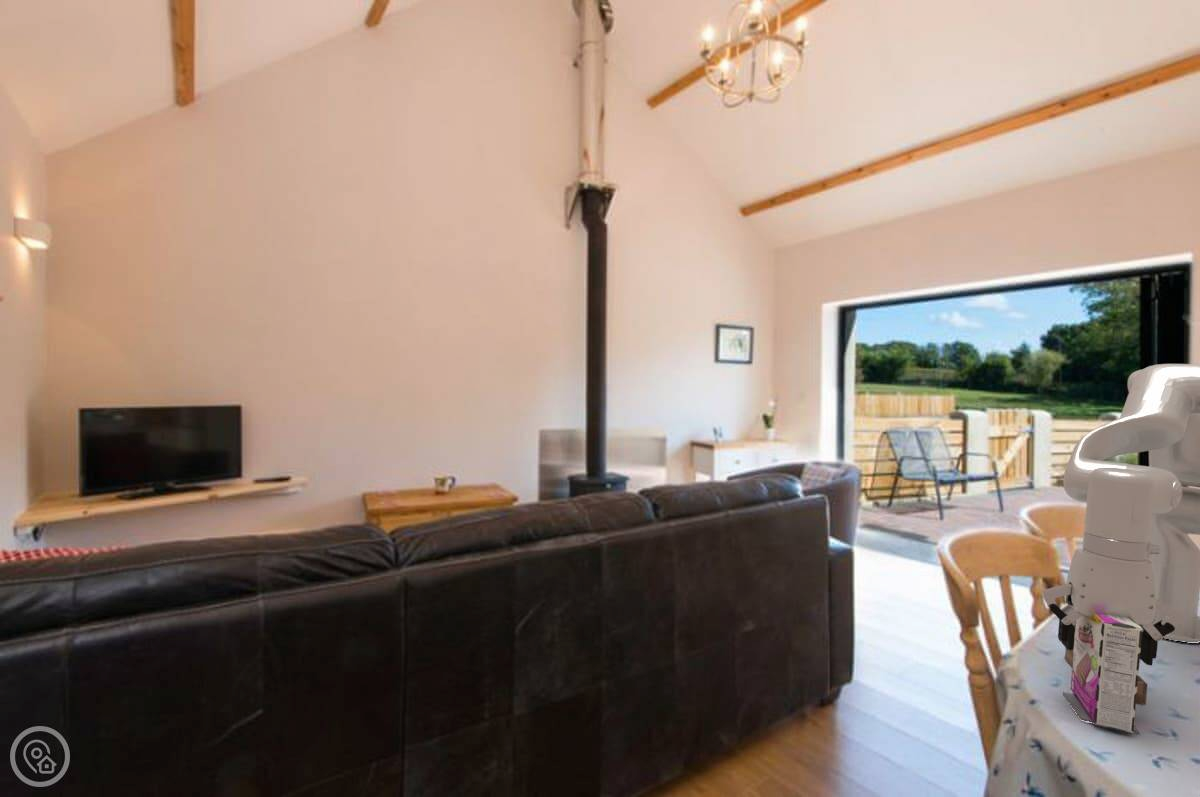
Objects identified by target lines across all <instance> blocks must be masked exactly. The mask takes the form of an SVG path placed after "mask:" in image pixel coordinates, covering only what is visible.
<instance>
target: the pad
mask: <svg viewBox="0 0 1200 797" xmlns="http://www.w3.org/2000/svg"><path fill="white" fill-rule="evenodd" d="M1062 695H1063V697H1064V699H1065V698H1066V699H1065V700H1066V702H1067V701H1068V702H1069V703H1070V704H1069V703H1068V702H1067V703H1068V704H1069V706H1070V705H1071V706H1072V707H1071V706H1070V707H1071V708H1073V709H1074V710H1075V712H1076V713H1077V715H1078V716H1079V718H1080V719H1081V720H1084V721H1089V722H1092V723H1094V722H1093V721H1092V719H1091V718H1090V716H1089V715H1088V713H1087V712H1086V710H1085V709H1084V707H1083V706H1082V705H1081V703H1080V702H1079V700H1078V699H1077V697H1076V696H1075V694H1074V693H1069V692H1064V691H1063V692H1062ZM1073 709H1072V710H1073ZM1074 710H1073V711H1074ZM1075 712H1074V713H1075ZM1076 713H1075V714H1076ZM1077 715H1076V716H1077ZM1078 716H1077V717H1078ZM1079 718H1078V719H1079ZM1080 719H1079V720H1080ZM1133 734H1135V735H1139V736H1140V734H1141V731H1140V730H1139V729H1138V728H1137V727H1136V725H1135V724H1134V733H1133Z"/></svg>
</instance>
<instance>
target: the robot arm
mask: <svg viewBox="0 0 1200 797" xmlns="http://www.w3.org/2000/svg"><path fill="white" fill-rule="evenodd" d="M1127 391H1128V394H1127V397H1126V401H1125V404H1124V406H1123V407H1122V408H1123V409H1122V411H1121V412H1120V413H1121V414H1120V417H1119V418H1115V419H1114V420H1111V421H1108V422H1107V423H1104V424H1102V425H1100V426H1098V427H1096V428H1094V429H1093V430H1091V431H1089V432H1087V433H1086V434H1084V436H1082V437H1081V438H1080V439H1079V440H1078V441H1077V442H1076V443H1075V445H1074V448H1073V449H1072V452H1071V454H1070V457H1069V459H1068V462H1067V465H1066V467H1065V468H1064V473H1063V488H1064V491H1065V492H1066V494H1067V495H1068V497H1070V498H1071V499H1072V500H1075V501H1077V502H1081V503H1085V504H1086V508H1085V518H1084V529H1083V530H1084V531H1083V541H1082V548H1080V547H1079V548H1078V547H1077V548H1075V550H1074V552H1073V555H1072V557H1071V562H1070V565H1069V569H1068V574H1067V578H1066V583H1065V584H1061V585H1057V586H1053V587H1050V588H1045V589H1042V590H1040V594H1041V596H1042V598H1043V600H1044V602H1045V604H1046V606H1047V608H1048V609H1049V610H1050V611H1051V612H1052V613H1053V614H1054V615H1055V616H1056V617H1057V618H1058V631H1057V632H1058V633H1057V639H1058V640H1059V641H1060V642H1061V644H1062V645H1063V646H1064V648H1065V649H1067V650H1073V647H1074V635H1075V627H1074V626H1073V624H1072V622H1074V621H1075V620H1077V619H1078V618H1080V617H1081V616H1086V617H1091V618H1092V617H1093V616H1094V613H1099V614H1107V615H1113V616H1119V617H1125V618H1130V619H1132V620H1133V621H1135V622H1136V623H1137V624H1138V625H1139V626H1140V627H1141V628H1142V629H1143V630H1142V638H1141V651H1140V660H1141V661H1142V663H1144V664H1145V665H1147V666H1153V663H1154V662H1153V660H1155V659H1156V658H1157V653H1158V644H1159V642H1161V641H1162V640H1166V639H1170V640H1169V641H1171V640H1177V641H1185V642H1198V641H1200V616H1199V615H1198V612H1199V603H1200V548H1199V547H1198V545H1197V544H1196V543H1195V542H1194V541H1193V539H1192V538H1190V536H1189V535H1190V534H1191V535H1199V536H1200V363H1196V364H1195V363H1161V364H1158V363H1157V364H1153V365H1149V366H1147V367H1145V368H1143V369H1139V370H1136V371H1134V372H1132V373H1131V374H1130V375H1129V376H1128V378H1127ZM1142 452H1143V453H1144V452H1148V466H1147V465H1140V464H1131V463H1126V462H1125V463H1124V462H1116V461H1107V460H1106V459H1109V458H1113V457H1117V456H1123V455H1128V454H1129V455H1131V454H1138V453H1142ZM1188 534H1189V535H1188ZM1062 597H1064V601H1065V603H1066V605H1065V606H1063V607H1062V608H1060V606H1059V605H1058V604H1057V601H1056V599H1057V598H1062ZM1163 638H1164V639H1163Z"/></svg>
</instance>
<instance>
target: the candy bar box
mask: <svg viewBox="0 0 1200 797" xmlns="http://www.w3.org/2000/svg"><path fill="white" fill-rule="evenodd" d="M1142 630H1143V629H1142V628H1141V627H1140V626H1139V625H1138V624H1137V623H1136V622H1135V621H1133V620H1132V619H1130V618H1125V617H1119V616H1113V615H1107V614H1099V613H1094V616H1093V617H1092V618H1091V617H1086V616H1081V617H1080V618H1078V619H1077V620H1076V623H1075V638H1074V651H1073V665H1072V667H1071V677H1070V678H1071V680H1070V690H1071V691H1072V694H1075V696H1076V697H1077V699H1078V700H1079V702H1080V703H1081V705H1082V706H1083V707H1084V709H1085V710H1086V712H1087V713H1088V715H1089V716H1090V718H1091V719H1092V721H1093V722H1094V724H1093V725H1095V726H1099V727H1102V728H1105V729H1111V730H1115V731H1121V732H1124V733H1128V734H1129V733H1130V734H1134V725H1135V720H1136V719H1135V717H1136V711H1137V710H1136V709H1137V708H1136V707H1137V703H1136V698H1137V686H1138V675H1139V673H1140V664H1141V662H1140V660H1141V659H1140V651H1141V638H1142ZM1139 676H1140V675H1139Z"/></svg>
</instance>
